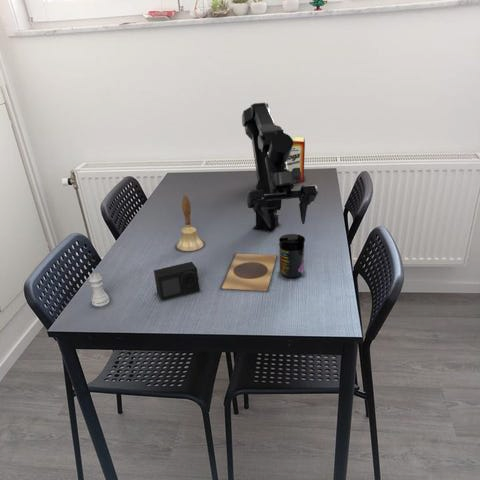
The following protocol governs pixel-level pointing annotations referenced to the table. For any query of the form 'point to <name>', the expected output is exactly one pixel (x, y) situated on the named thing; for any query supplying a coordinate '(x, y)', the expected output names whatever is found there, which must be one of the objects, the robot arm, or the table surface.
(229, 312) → the table surface
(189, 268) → the digital camera
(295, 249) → the supplement container
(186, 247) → the hand bell
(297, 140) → the baking soda box
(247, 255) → the placemat
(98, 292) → the rook chess piece
